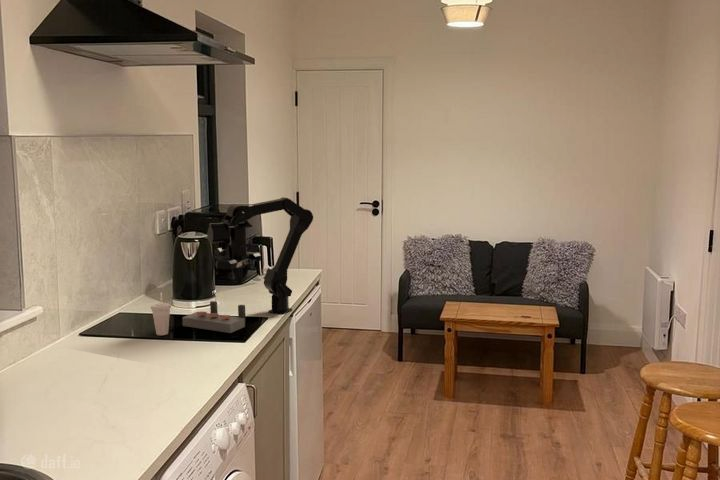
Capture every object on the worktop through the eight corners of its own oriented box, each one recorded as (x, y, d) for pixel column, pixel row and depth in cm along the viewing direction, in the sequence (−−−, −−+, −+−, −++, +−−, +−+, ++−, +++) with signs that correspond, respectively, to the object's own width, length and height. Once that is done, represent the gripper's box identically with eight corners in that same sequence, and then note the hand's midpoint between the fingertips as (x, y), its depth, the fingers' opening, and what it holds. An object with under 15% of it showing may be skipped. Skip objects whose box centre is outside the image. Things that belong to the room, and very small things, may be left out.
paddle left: (201, 314, 245) (202, 311, 245) (206, 314, 244) (206, 312, 244) (196, 314, 243) (196, 311, 243) (201, 315, 242) (201, 312, 242)
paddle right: (225, 317, 241) (225, 314, 241) (230, 318, 240) (230, 315, 240) (220, 318, 238) (220, 315, 238) (225, 318, 237) (225, 315, 237)
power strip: (198, 319, 250) (197, 311, 249) (244, 326, 241) (244, 318, 240) (182, 325, 243) (182, 317, 242) (230, 333, 234) (230, 324, 233)
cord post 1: (213, 317, 253) (213, 300, 252) (219, 318, 252) (218, 301, 251) (209, 318, 251) (208, 302, 250) (214, 319, 250) (214, 303, 249)
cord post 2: (241, 321, 248) (240, 304, 247) (247, 322, 247) (246, 305, 246) (237, 322, 246) (236, 306, 245) (242, 323, 245) (242, 306, 244)
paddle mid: (213, 315, 243) (213, 313, 243) (218, 316, 242) (218, 313, 242) (208, 316, 240) (208, 313, 240) (213, 317, 240) (213, 314, 240)
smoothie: (160, 337, 229) (158, 295, 227) (148, 334, 233) (145, 292, 231) (176, 332, 234) (174, 291, 232) (164, 329, 238) (161, 288, 236)
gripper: (235, 235, 260) (237, 277, 262) (202, 243, 243) (204, 287, 246) (261, 237, 255) (262, 280, 257) (229, 245, 238) (230, 291, 241)
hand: (240, 284), depth 250 cm, fingers closed
